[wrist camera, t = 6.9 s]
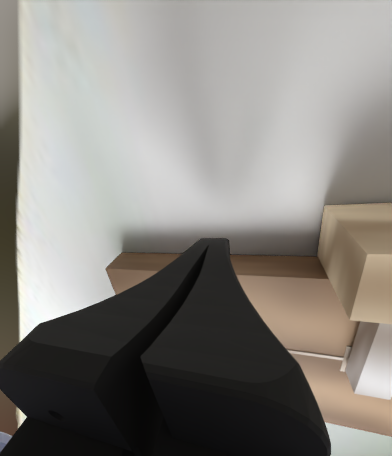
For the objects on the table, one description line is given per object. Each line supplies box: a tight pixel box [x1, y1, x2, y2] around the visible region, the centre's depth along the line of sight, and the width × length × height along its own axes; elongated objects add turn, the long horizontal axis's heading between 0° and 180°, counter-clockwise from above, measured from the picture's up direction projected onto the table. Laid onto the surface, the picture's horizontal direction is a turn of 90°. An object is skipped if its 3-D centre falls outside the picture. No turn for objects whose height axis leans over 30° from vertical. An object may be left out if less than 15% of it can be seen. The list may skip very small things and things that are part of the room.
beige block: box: [317, 203, 392, 400], centre depth 10 cm, size 10×5×4 cm, turn 8°
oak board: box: [106, 253, 392, 437], centre depth 15 cm, size 14×22×2 cm, turn 98°
